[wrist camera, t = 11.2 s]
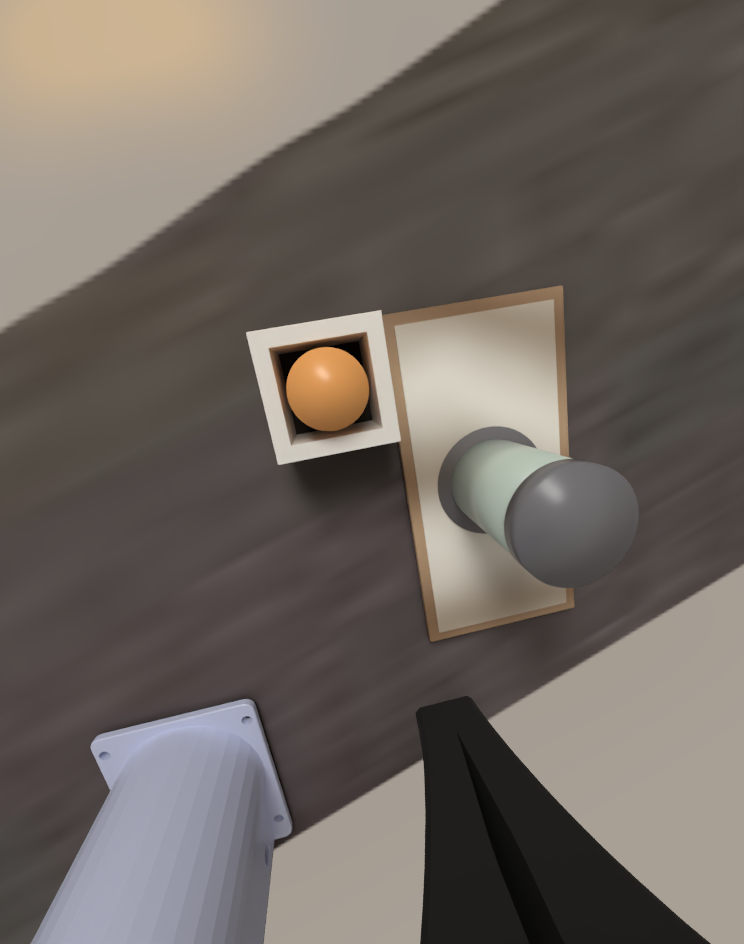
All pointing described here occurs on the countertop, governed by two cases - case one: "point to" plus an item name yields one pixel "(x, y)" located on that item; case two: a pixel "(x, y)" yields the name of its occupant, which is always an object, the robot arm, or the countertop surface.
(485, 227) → the countertop surface
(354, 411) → the button
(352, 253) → the countertop surface
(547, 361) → the sketch pad
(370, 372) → the button box
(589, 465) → the ink stamp
